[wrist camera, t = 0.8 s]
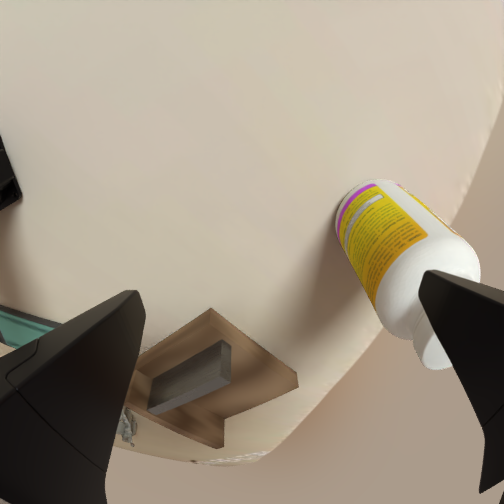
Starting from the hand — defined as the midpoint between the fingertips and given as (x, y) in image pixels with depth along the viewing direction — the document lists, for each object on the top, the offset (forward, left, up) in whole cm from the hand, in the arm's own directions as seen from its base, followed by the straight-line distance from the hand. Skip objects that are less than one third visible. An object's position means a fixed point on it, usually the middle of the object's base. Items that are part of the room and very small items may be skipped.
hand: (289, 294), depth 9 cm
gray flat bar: (-11, -15, -11) cm, 22 cm away
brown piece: (-10, -19, -13) cm, 25 cm away
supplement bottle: (+8, -6, -13) cm, 16 cm away
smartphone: (-31, -11, -14) cm, 35 cm away
